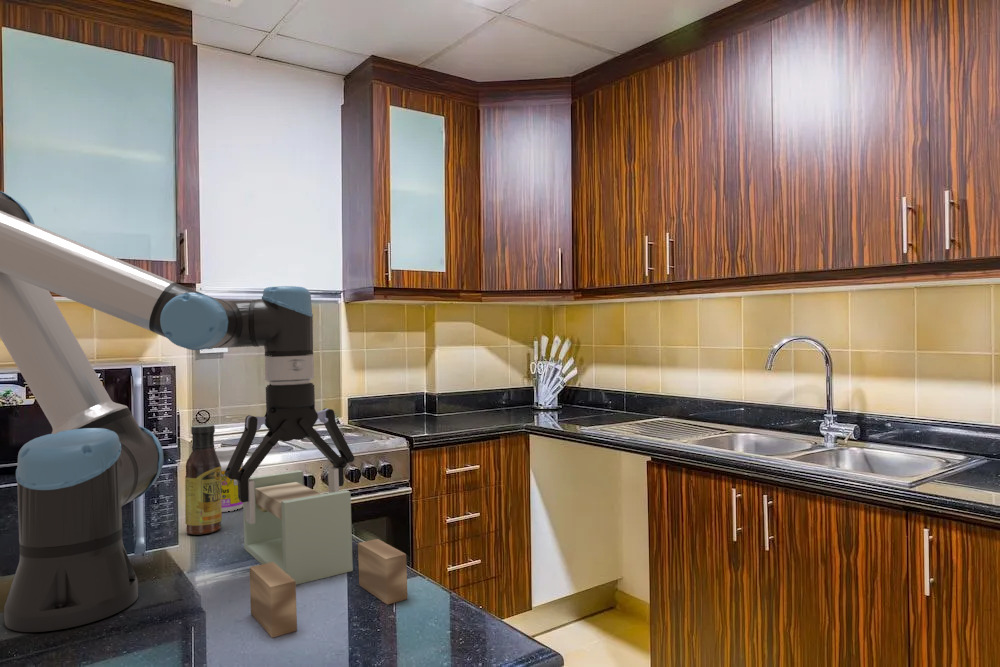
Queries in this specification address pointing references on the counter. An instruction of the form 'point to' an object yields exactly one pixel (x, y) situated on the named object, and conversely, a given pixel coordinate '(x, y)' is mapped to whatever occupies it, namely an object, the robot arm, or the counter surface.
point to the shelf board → (280, 496)
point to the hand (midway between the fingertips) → (293, 514)
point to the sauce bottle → (203, 484)
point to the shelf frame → (302, 532)
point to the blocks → (278, 590)
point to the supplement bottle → (228, 481)
